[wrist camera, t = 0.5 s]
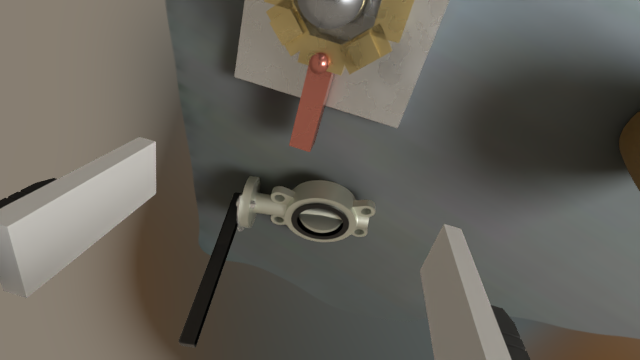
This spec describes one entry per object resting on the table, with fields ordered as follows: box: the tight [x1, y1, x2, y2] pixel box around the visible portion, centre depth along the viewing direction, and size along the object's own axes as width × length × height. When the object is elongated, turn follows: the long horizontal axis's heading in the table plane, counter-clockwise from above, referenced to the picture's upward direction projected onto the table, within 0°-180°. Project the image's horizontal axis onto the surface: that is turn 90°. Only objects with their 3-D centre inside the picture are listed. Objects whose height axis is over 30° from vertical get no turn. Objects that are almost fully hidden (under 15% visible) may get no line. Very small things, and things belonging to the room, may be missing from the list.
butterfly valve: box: [179, 176, 375, 347], centre depth 36 cm, size 9×20×17 cm
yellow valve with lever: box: [264, 0, 414, 152], centre depth 29 cm, size 20×12×5 cm, turn 165°
